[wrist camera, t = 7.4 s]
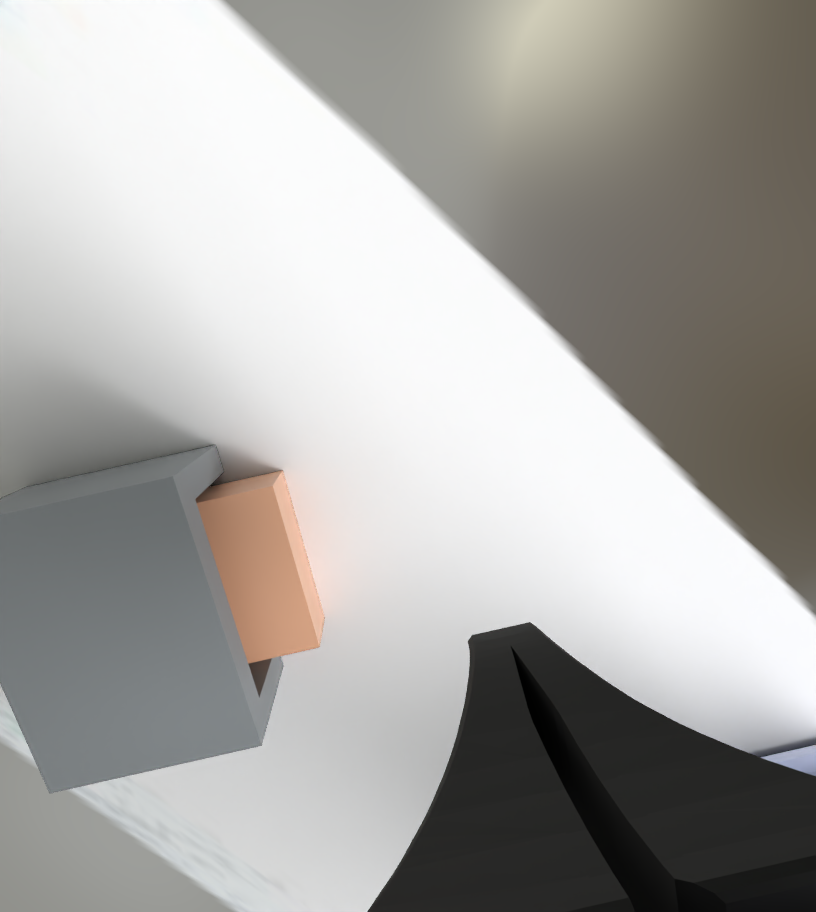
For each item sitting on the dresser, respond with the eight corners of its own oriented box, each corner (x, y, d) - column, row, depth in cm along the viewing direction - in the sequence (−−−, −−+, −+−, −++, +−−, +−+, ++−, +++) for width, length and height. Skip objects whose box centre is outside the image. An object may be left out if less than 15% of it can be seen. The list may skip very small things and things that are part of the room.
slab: (284, 467, 20) (273, 485, 18) (325, 612, 22) (319, 647, 19) (69, 516, 20) (29, 541, 18) (124, 658, 22) (94, 699, 19)
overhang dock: (215, 444, 19) (172, 476, 15) (283, 665, 21) (261, 745, 17) (25, 487, 19) (-69, 530, 15) (111, 704, 21) (49, 793, 17)
